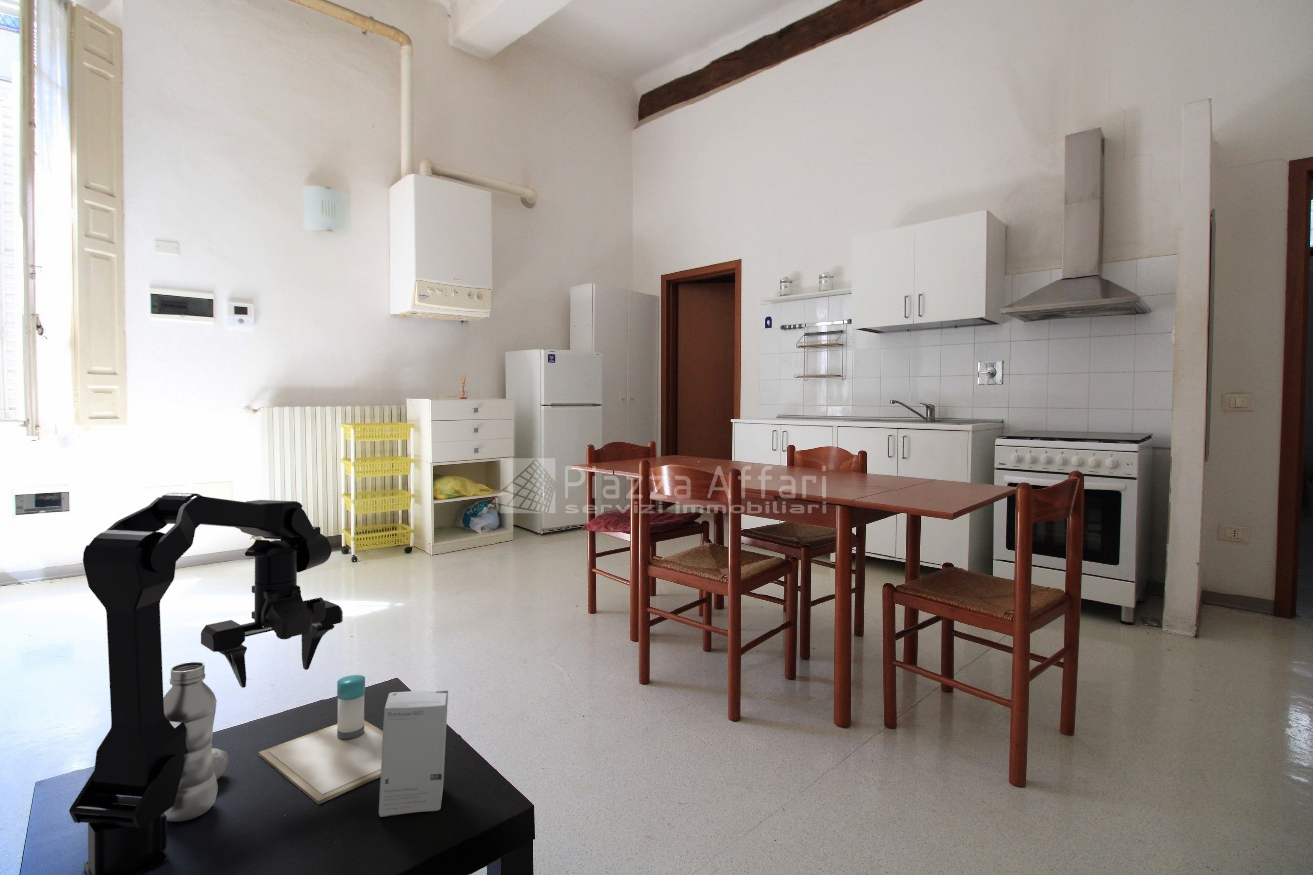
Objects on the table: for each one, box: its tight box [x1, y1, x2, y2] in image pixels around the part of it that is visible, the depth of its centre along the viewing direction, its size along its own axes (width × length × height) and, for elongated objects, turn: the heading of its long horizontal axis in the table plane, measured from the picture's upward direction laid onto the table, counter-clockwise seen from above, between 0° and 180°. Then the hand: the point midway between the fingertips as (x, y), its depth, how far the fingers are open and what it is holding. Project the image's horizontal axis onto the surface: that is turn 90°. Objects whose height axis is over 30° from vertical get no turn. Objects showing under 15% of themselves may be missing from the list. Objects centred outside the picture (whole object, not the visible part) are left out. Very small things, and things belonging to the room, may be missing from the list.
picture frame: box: [258, 719, 383, 805], centre depth 102 cm, size 16×20×1 cm
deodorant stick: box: [336, 674, 366, 740], centre depth 108 cm, size 4×4×9 cm
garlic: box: [212, 747, 229, 780], centre depth 94 cm, size 6×5×5 cm
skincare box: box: [378, 689, 449, 818], centre depth 90 cm, size 8×6×15 cm
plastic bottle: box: [163, 661, 219, 823], centre depth 86 cm, size 6×7×20 cm
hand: (275, 677), depth 102 cm, fingers open, 9 cm apart
